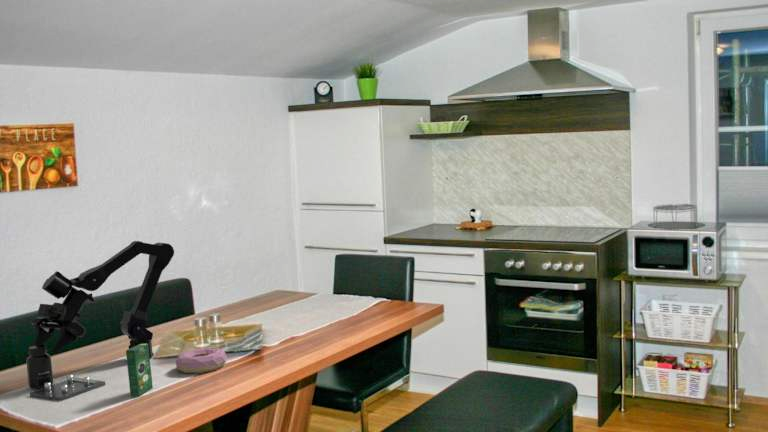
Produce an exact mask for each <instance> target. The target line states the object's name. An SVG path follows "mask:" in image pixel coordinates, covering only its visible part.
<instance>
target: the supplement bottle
mask: <svg viewBox="0 0 768 432" xmlns="http://www.w3.org/2000/svg"><path fill="white" fill-rule="evenodd" d="M47 351H48V350H47V345H46V344H43V345H37V346H30V347H28V355H29V356H28V357H27V358H26V360H25V361H26V370H27V371H26V373H27V381H28V382H27V383H28V387H29V389H31V390H39V389H42V388H45V384H44V383H47V382H50V383H51V385H54V374H53V373H54V372H53V365H52V363H53V362H52V357H51V355H50V354H49V353H47Z"/></svg>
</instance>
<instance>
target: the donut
mask: <svg viewBox="0 0 768 432" xmlns="http://www.w3.org/2000/svg"><path fill="white" fill-rule="evenodd" d="M227 359H228V357H227V354H226V351H224V350H223V349H222V348H219V347H200V348H194V349H190V350H187V351H183V352H182V353H181V354H179V355H178V356H177V357H176V358H175V365H176V366H175V367H176V369H177V370H178V371H180V372H182V373H185V374H203V373H208V372H212V371H215V370H218V369H221V368H222V367H224V365H225V364H226V362H227Z"/></svg>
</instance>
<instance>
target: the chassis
mask: <svg viewBox="0 0 768 432" xmlns="http://www.w3.org/2000/svg"><path fill="white" fill-rule="evenodd" d="M44 384H45V388H42V389H35V390H33V391H31V392H29V396H30V397H33V398H39V399H46V400H52V401H58V402H62V401H65V400H68V399H70V398H74V397H76V396H79V395H82V394H84V393H87V392H90V391H92V390H96V389H99V388H100V387H104V386H105V385H106V381H103V380H98V379H90V377H89V376H85V377H74V376H73V374H68V375H66V380H63V381H59V382H58V383H53V385H51V383H50V382H47V383H44Z"/></svg>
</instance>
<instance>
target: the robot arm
mask: <svg viewBox="0 0 768 432" xmlns="http://www.w3.org/2000/svg"><path fill="white" fill-rule="evenodd" d="M140 254H143V255H149V256H148V267H147V271H146V273H145V276H144V279H143V281H142V284H141V286H140V289H139V292H138V294H137V296H136V298H135V302H134V304H133V306H132V308H131V309H130V310H129V311H127V310H125V311H124V312H123V316H122V319H121V320H120V322H119V323H120V324H121V325H120V330H121V332H122V333H123V335H126V336H127V338H128V339H129V345H128V349H130V348H132V347H135V346H137V345H139V344H148V348H149V357H150V360H151V359H152V358H153V357H154V356H155V353H154V352H153V346H152V345H153V344H152V341H153V336H154V334H153V332H151V331H150V330H149V329H147V328H146V326H147V320H148V319H147V318H148V316H147V315H148V313H147V312H148V309H149V307H150V304H151V302H152V299H153V297H154V293H155V291H156V288H157V285H158V284H159V280H160V278H161V276H162V273H163V271H164V269H166V268H167V266H168V265H169V264H170V262H171V261H172V259H173V257H174V256H175V249H174V247H173V246H172V245H171V244H170V243H165V242H155V243H153V244H152V243H147V242H143V241H142V240H141V241H140V240H133V241H132V242H131V243H130V244H129V245H127V246H126V247H124V248H123V249H122V250H120V251H118V252H117V253H116V254H115V255H113V256H111V257H109V259H107V260H106V261H104V262H103V263H101V264H99V265H96V266H94V267H91V268H88V269H87V270H84V271H83V272H81V273H80V274H79V275H78V276H77V277H74V278H71V279H70V278H67V277H66V276H65V275H63V274H62V273H61V272H60V271H57V270H56V271H55V272H54V273H53V274H52V275H50V276H49V277H48V278H47V279H46V280H45V281H44V282H43V285H42V288H41V289H42V290H44V291H45V292H46V293H48V294H49V295H50V296H53V297H54V298H55V299H57V300H58V299H59V300H60V299H61V298H62V299H63V302H53V304H49V303H48V304H47V303H40V304H39V307H38V311H37V315H38V316H39V317H38V316H37V317H35V318H34V319H33V320H32V322H31V325H32V327H33V328H34V329H35V337H34V342H33V346H37V345H45V343H46V342H47V341H48V340H49V339H51V337H52V336H53V335H52V334H53V333H55V331H56V330H58V331H59V335H58V337H57V339H56V340H55V343H54V345H53V347H52V349H51V352H52V353H53V354H56V353H57V352H58V351H60V350H61V349H63V348H64V347H66V346H68V345H69V344H71V343H72V342H74V341H76V340H79V338H83V337H84V335H85V333H86V328H85V326H83V325H82V324H81V323H79V322H78V321H77V320H76V319H79V318H80V317H81V314H79V313H80V312H81V310H82V308H83V306H84V304H85V303H87V304H89V303H94V302H95V298H94V297H93V293H92V292H94V291H97V290H99V288H100V287H102V285H103V284H104V283H105V282H107V280H108V278H109V277H110V276H111V275H112V274H113V273H115V272H116V271H117V270H119V269H120V268H121V267H123V266H125V265H126V264H127V263H129V262H131V261H132V260H133V259H134V258H136V257H137V256H139V255H140ZM77 288H78V289H77ZM84 290H85V291H89V292H91V293H87V292H85V291H84ZM40 315H42V316H43V317H40ZM44 316H45V317H44ZM46 317H47V318H46Z"/></svg>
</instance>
